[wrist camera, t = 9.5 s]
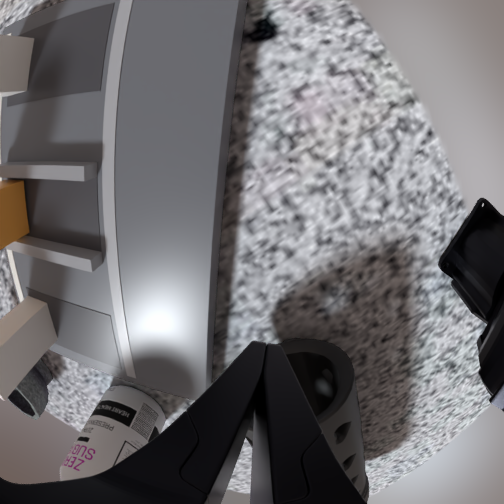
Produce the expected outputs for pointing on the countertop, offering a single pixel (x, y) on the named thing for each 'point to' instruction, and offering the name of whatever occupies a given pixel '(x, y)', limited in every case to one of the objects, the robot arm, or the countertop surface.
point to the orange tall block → (12, 212)
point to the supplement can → (113, 432)
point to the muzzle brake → (330, 402)
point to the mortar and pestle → (32, 391)
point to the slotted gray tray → (118, 185)
